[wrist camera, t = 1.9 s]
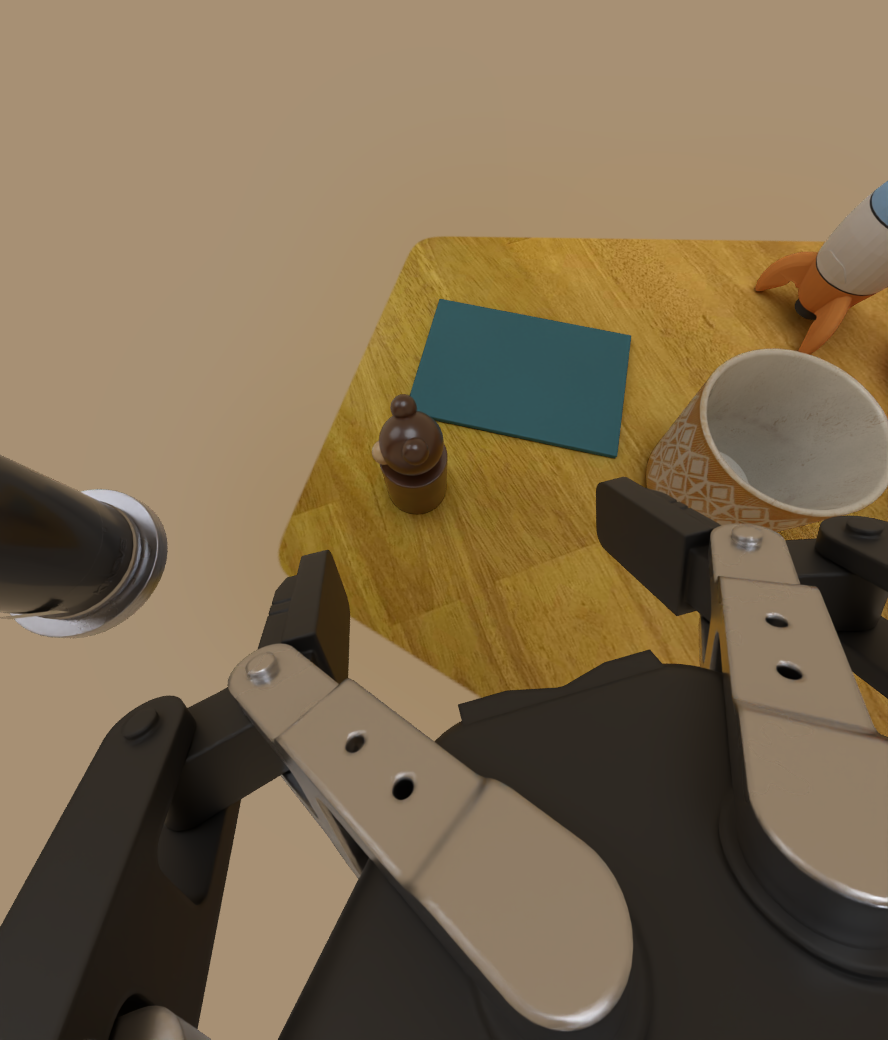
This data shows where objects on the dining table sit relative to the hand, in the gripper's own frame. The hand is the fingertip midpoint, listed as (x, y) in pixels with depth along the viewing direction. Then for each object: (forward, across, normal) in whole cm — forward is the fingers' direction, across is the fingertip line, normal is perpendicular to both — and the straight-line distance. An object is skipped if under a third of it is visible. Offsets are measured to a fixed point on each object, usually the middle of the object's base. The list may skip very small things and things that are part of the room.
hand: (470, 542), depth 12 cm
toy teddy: (+24, 0, +8) cm, 25 cm away
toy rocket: (+30, -43, +2) cm, 52 cm away
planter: (+20, -25, +12) cm, 34 cm away
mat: (+31, -13, +1) cm, 33 cm away
